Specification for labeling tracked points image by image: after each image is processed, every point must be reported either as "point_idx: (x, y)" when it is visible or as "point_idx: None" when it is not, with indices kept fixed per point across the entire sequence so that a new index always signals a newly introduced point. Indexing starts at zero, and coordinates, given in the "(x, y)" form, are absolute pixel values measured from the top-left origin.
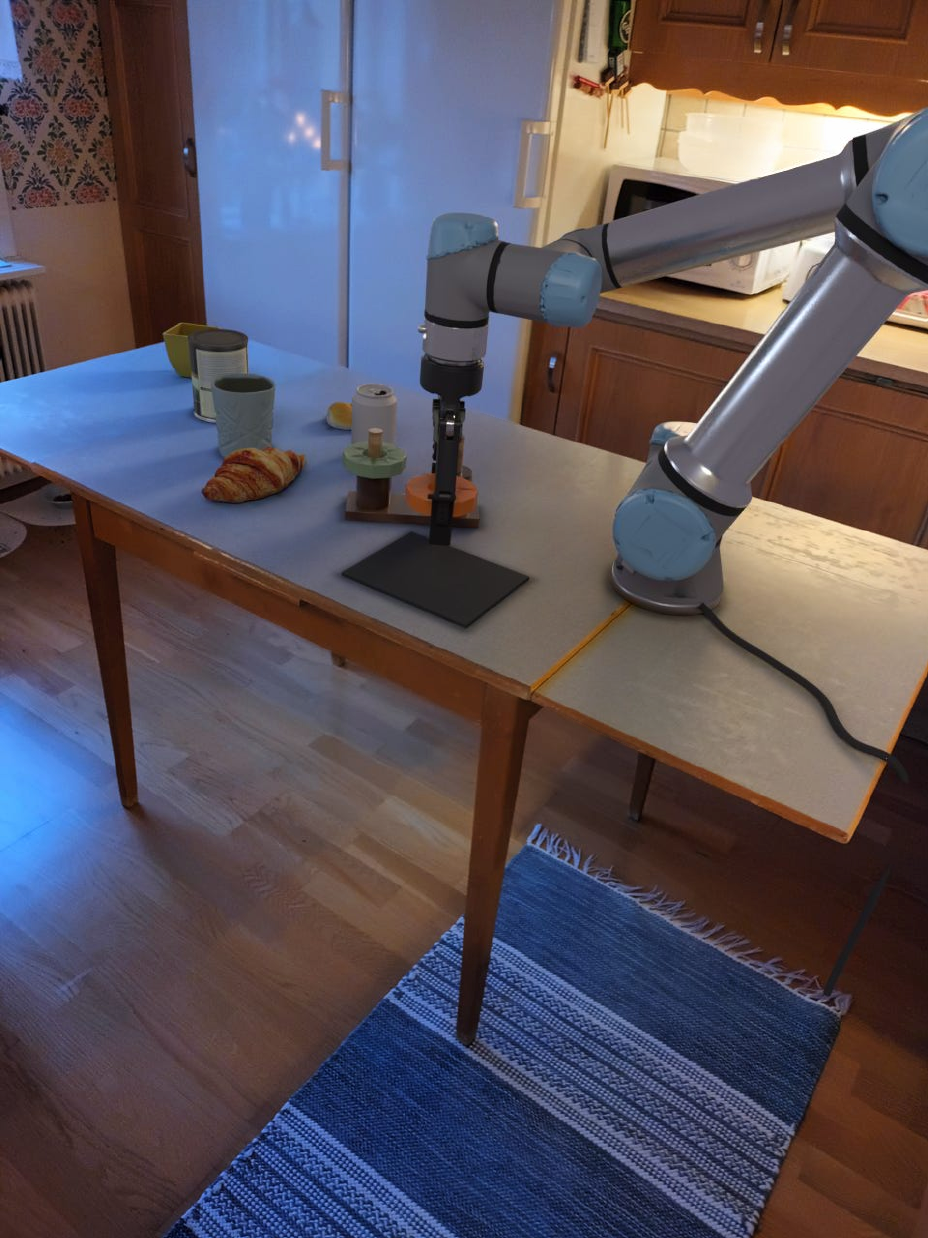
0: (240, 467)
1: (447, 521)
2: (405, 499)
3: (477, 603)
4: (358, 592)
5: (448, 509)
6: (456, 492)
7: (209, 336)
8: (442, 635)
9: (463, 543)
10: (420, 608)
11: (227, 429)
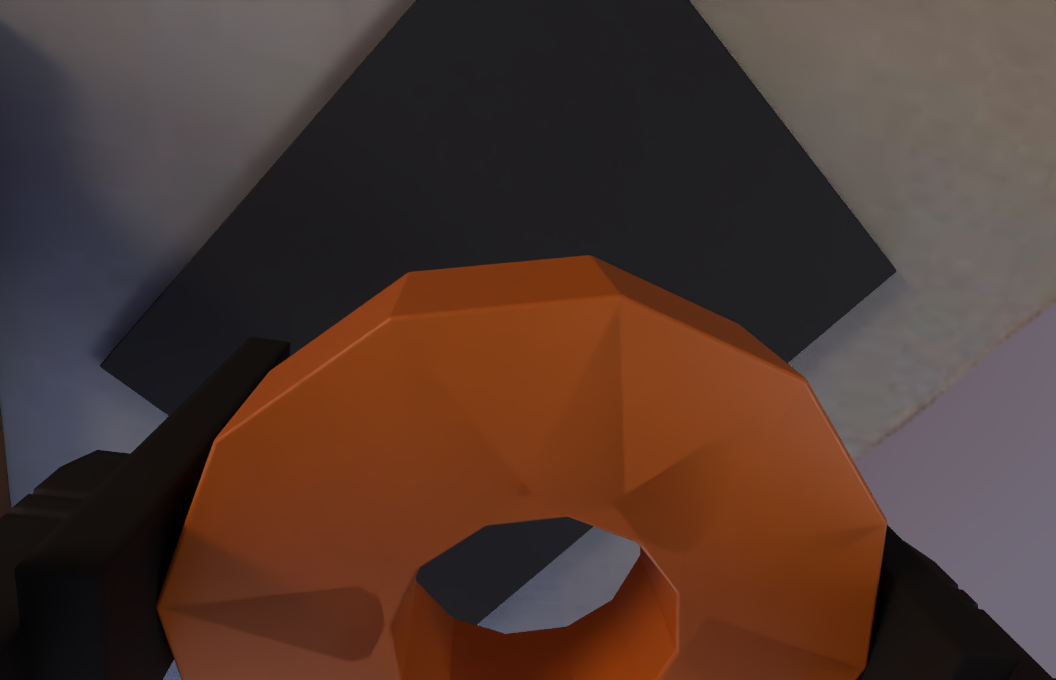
0: None
1: (939, 567)
2: None
3: (760, 190)
4: (585, 578)
5: (1015, 647)
6: (663, 532)
7: None
8: (902, 356)
9: (168, 122)
10: None
11: None
